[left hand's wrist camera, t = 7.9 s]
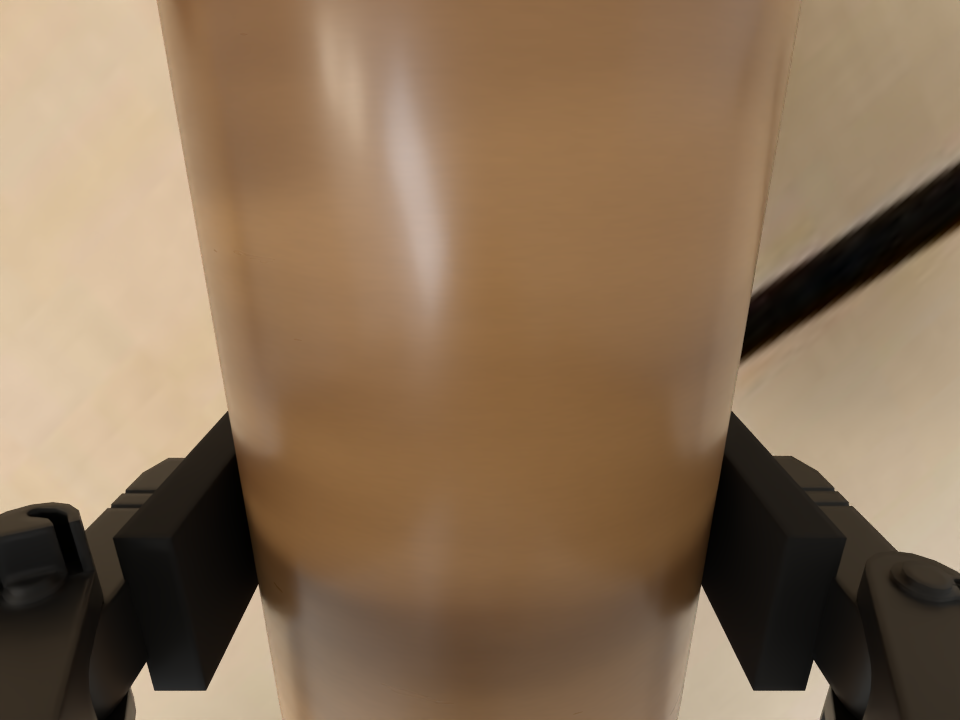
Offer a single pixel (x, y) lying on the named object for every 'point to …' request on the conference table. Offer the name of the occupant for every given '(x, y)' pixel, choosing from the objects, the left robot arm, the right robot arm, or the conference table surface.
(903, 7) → the conference table surface
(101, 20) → the conference table surface
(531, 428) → the rod
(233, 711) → the conference table surface
